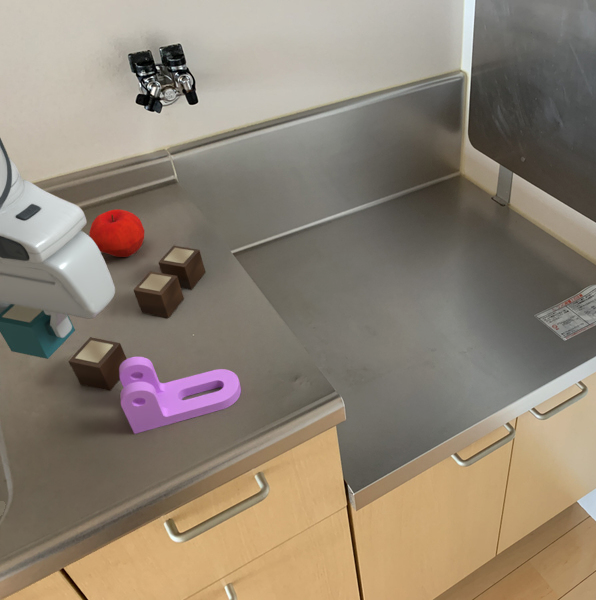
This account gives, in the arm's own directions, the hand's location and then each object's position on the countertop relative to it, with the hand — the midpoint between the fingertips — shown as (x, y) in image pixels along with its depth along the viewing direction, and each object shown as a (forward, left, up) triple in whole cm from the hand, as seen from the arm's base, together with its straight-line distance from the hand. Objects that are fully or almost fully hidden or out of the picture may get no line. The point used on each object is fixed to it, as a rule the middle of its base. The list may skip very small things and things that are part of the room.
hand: (38, 327), depth 63 cm
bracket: (+6, -10, -16) cm, 20 cm away
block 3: (+21, +3, -16) cm, 27 cm away
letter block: (0, 0, -2) cm, 2 cm away
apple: (+31, +16, -16) cm, 38 cm away
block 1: (+7, +3, -16) cm, 18 cm away
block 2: (+28, +3, -16) cm, 32 cm away
